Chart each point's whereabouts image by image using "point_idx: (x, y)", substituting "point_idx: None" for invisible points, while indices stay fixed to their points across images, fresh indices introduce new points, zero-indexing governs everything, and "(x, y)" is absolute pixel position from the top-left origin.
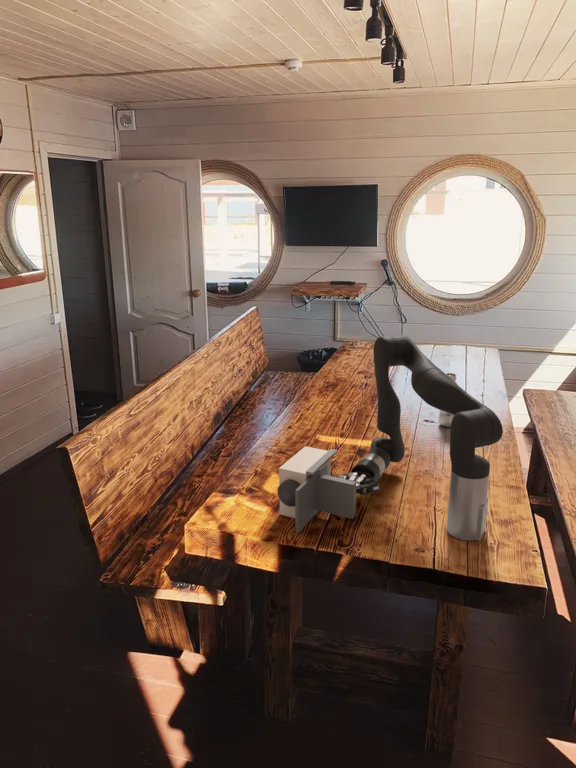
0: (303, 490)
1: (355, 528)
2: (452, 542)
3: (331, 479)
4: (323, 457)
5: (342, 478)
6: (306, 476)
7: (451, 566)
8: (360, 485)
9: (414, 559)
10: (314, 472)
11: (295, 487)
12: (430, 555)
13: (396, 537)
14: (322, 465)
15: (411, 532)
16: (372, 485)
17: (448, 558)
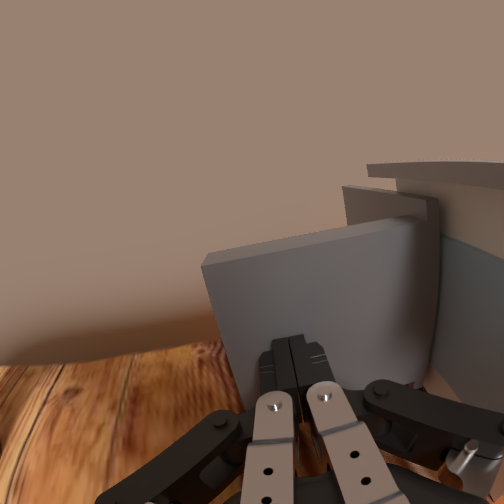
0: (356, 204)
1: (239, 411)
2: (8, 424)
3: (337, 229)
4: (500, 161)
5: (439, 419)
6: (398, 187)
7: (40, 371)
8: (233, 428)
9: (88, 368)
10: (374, 170)
11: None
12: (58, 384)
13: (111, 418)
14: (420, 173)
15: (71, 446)
16: (142, 469)
17: (34, 385)
